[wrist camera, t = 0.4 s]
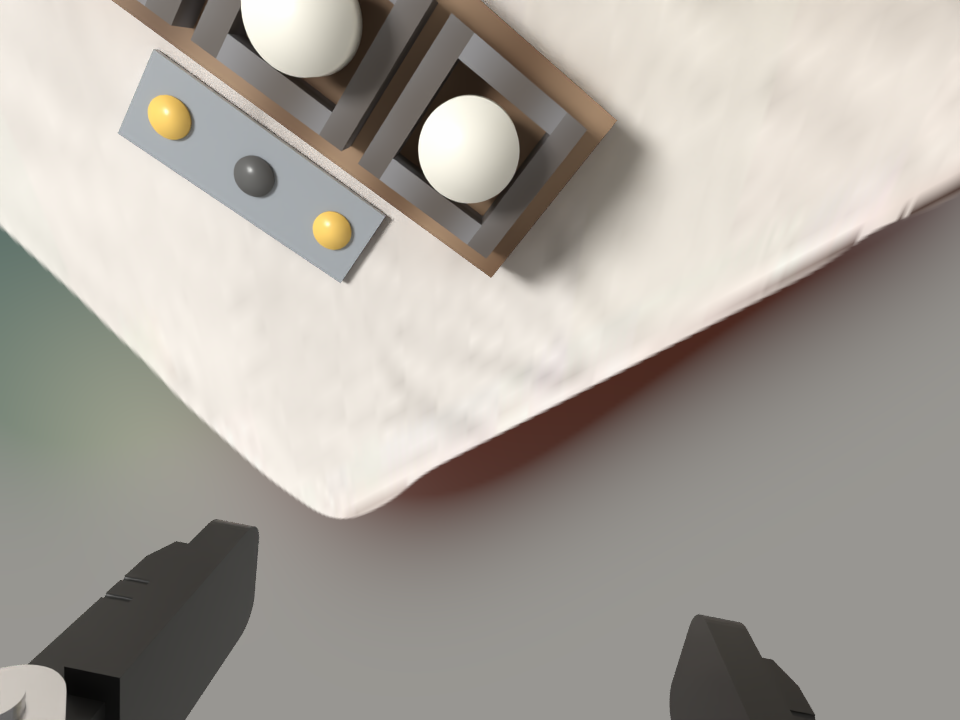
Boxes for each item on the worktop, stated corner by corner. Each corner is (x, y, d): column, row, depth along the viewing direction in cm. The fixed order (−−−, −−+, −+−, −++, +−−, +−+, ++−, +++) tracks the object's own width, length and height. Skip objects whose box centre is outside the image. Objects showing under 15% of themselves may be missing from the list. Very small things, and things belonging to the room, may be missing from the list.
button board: (41, -73, 27) (-48, -100, 23) (117, -313, 24) (29, -402, 19) (491, 261, 34) (490, 290, 30) (606, 115, 30) (625, 124, 26)
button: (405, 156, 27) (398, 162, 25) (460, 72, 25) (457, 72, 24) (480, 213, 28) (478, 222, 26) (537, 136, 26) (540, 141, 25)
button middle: (242, 31, 25) (222, 28, 23) (290, -69, 23) (272, -81, 21) (329, 98, 26) (317, 100, 24) (382, 7, 24) (372, 2, 23)
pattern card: (122, 132, 31) (115, 133, 31) (157, 49, 30) (151, 49, 29) (342, 280, 35) (339, 284, 34) (386, 215, 33) (384, 217, 33)
